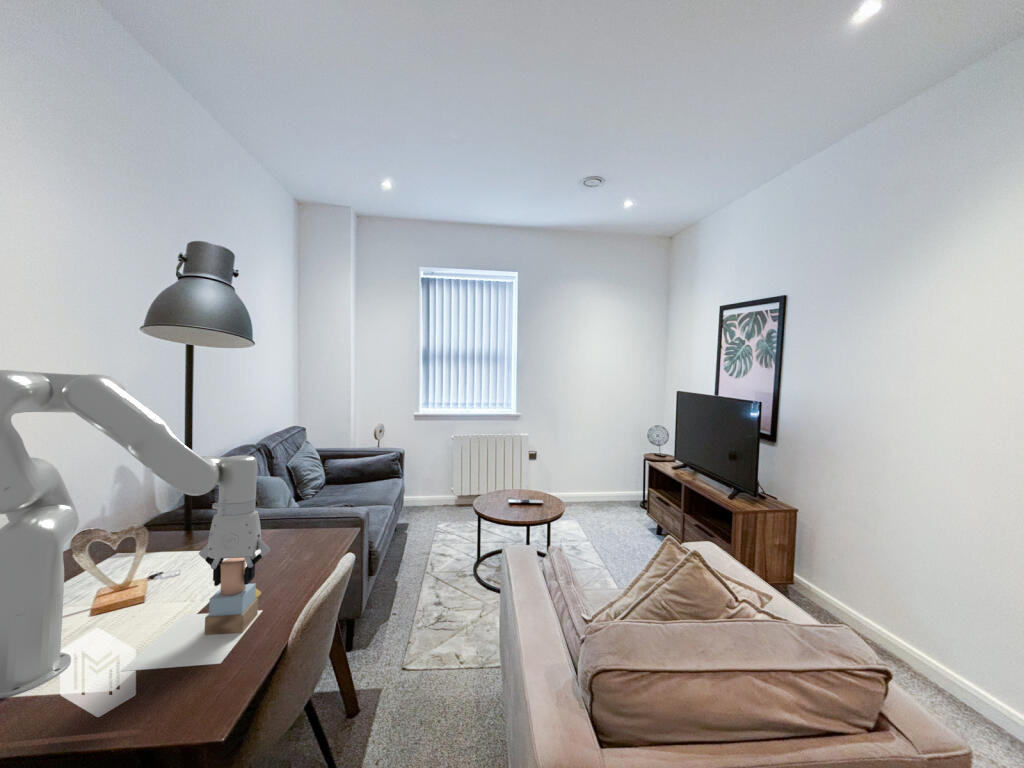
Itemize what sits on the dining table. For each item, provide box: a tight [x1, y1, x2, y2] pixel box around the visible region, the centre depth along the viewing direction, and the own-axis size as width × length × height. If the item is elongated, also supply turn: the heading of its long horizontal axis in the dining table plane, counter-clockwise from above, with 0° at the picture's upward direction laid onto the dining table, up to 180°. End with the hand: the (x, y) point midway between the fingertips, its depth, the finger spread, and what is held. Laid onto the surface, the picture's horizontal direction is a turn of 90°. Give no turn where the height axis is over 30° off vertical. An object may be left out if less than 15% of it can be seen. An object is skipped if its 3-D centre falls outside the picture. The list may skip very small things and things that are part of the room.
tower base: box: [204, 597, 259, 635], centre depth 99 cm, size 8×8×4 cm
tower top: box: [208, 583, 257, 616], centre depth 99 cm, size 7×7×4 cm
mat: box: [120, 609, 264, 672], centre depth 94 cm, size 18×21×1 cm
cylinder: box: [220, 558, 247, 596], centre depth 99 cm, size 5×5×7 cm
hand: (233, 582), depth 99 cm, fingers open, 5 cm apart
